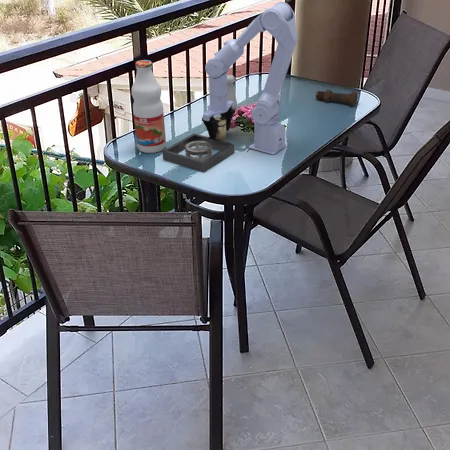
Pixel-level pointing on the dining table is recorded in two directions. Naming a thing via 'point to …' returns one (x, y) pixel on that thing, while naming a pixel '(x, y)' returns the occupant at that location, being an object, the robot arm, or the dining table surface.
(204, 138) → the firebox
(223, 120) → the beige cylinder
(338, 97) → the bolt
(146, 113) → the fruit juice
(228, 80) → the salt shaker
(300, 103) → the dining table surface
